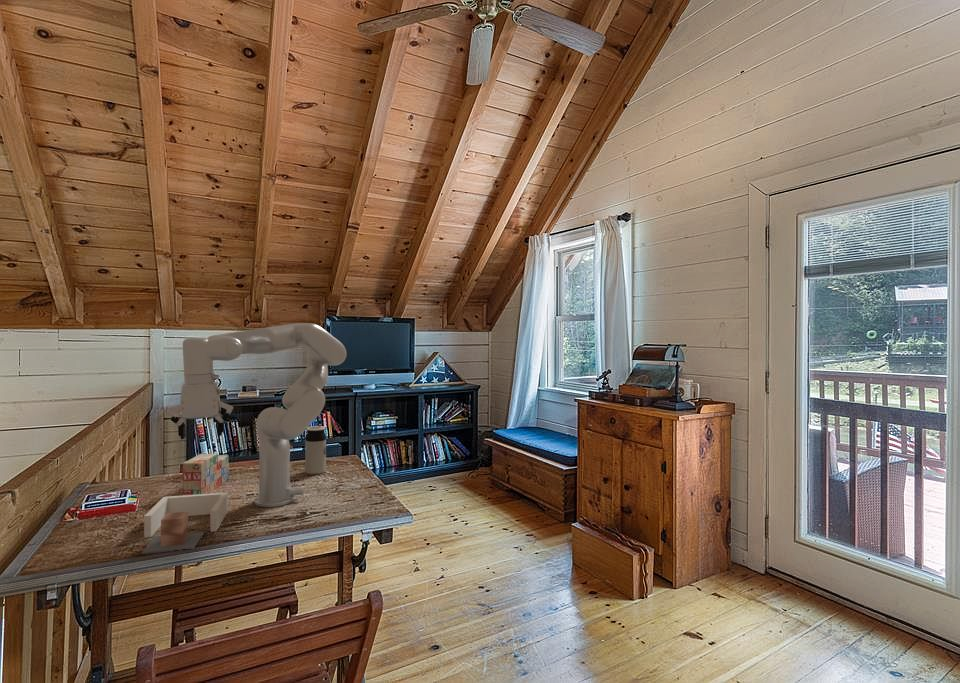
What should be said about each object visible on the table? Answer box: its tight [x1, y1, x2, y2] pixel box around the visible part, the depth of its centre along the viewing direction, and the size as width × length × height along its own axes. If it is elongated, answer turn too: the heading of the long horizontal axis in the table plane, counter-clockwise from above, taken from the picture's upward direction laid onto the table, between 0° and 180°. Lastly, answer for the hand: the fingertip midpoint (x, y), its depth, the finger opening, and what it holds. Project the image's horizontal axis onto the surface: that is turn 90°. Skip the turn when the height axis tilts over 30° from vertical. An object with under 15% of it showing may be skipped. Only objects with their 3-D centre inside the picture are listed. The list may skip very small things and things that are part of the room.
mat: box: [141, 531, 205, 555], centre depth 133 cm, size 12×10×1 cm
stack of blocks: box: [182, 453, 230, 495], centre depth 178 cm, size 21×6×12 cm, turn 4°
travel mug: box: [304, 425, 327, 475], centre depth 199 cm, size 8×8×18 cm
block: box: [160, 512, 189, 546], centre depth 132 cm, size 5×5×7 cm
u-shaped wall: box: [143, 492, 229, 538], centre depth 146 cm, size 18×16×6 cm
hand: (201, 436), depth 146 cm, fingers open, 9 cm apart
